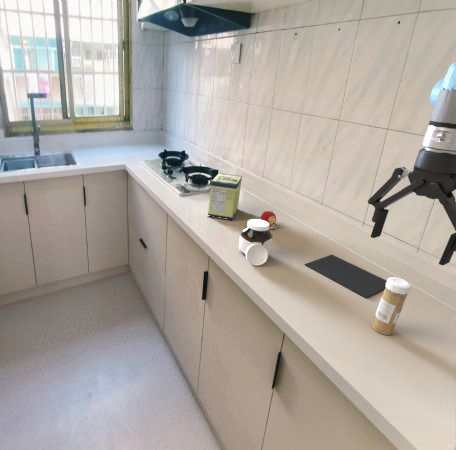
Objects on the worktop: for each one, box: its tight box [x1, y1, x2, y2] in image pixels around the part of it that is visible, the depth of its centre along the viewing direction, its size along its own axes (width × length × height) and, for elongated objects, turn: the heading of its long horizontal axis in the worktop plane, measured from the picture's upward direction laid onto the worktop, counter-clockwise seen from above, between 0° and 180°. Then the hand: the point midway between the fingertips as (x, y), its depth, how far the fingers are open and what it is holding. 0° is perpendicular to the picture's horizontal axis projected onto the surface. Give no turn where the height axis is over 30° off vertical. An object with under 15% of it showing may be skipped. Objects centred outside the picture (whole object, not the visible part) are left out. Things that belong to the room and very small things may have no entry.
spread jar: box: [238, 218, 273, 267], centre depth 109 cm, size 12×11×12 cm
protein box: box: [207, 172, 243, 220], centre depth 145 cm, size 10×16×16 cm
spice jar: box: [371, 276, 412, 336], centre depth 78 cm, size 5×5×14 cm
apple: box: [260, 210, 279, 230], centre depth 135 cm, size 8×8×6 cm
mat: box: [304, 254, 388, 299], centre depth 104 cm, size 20×14×1 cm
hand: (407, 249), depth 73 cm, fingers open, 13 cm apart
